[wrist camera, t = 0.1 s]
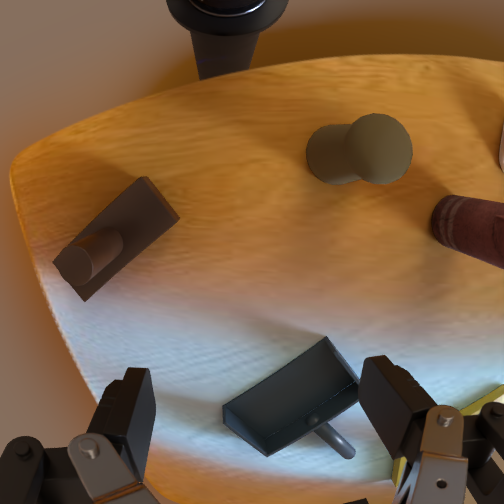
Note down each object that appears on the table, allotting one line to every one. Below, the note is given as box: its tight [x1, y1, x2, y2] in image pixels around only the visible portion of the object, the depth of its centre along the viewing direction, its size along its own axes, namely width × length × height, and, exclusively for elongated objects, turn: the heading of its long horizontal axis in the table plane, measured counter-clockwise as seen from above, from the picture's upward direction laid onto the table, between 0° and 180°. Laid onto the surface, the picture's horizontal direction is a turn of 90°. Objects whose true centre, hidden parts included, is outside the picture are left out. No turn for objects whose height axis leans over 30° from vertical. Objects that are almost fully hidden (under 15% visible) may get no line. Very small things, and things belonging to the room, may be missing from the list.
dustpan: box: [223, 336, 360, 459], centre depth 36 cm, size 19×15×3 cm
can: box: [432, 195, 504, 269], centre depth 26 cm, size 6×6×14 cm
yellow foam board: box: [392, 384, 504, 487], centre depth 42 cm, size 12×2×24 cm
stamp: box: [53, 177, 180, 302], centre depth 25 cm, size 5×12×11 cm, turn 127°
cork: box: [306, 113, 413, 185], centre depth 25 cm, size 6×6×11 cm
